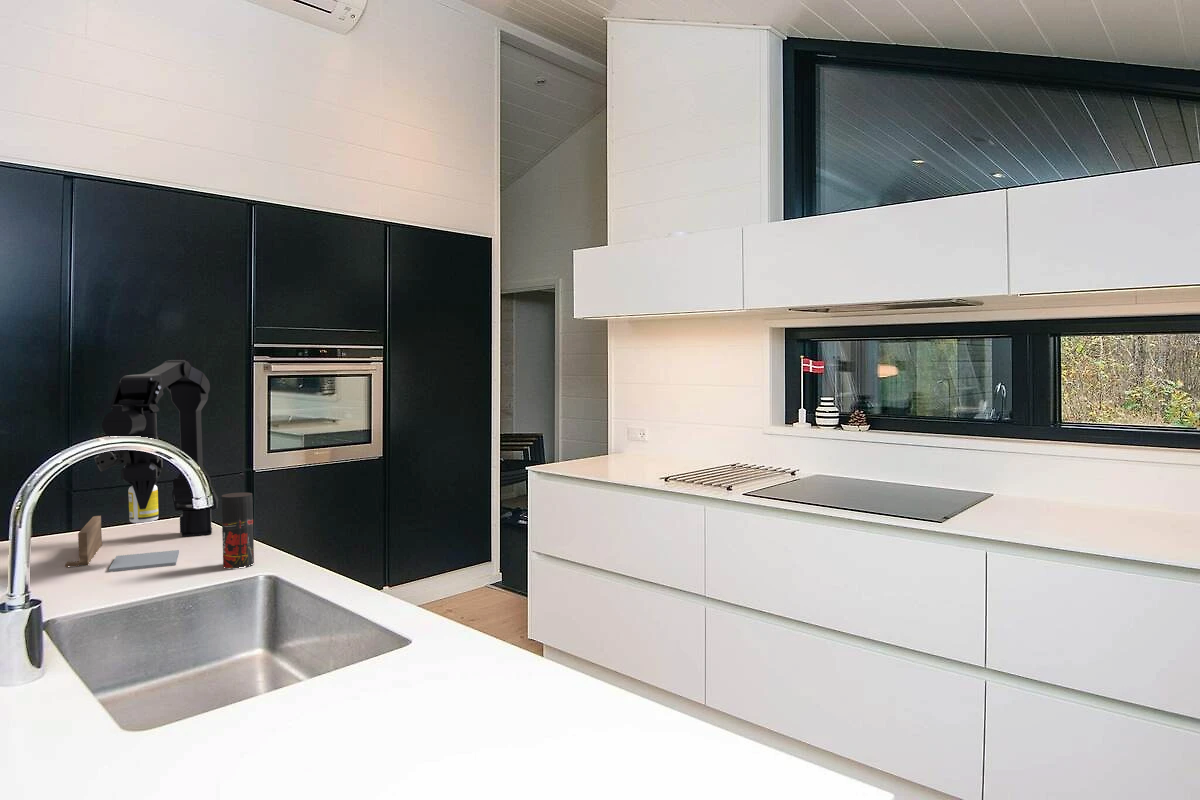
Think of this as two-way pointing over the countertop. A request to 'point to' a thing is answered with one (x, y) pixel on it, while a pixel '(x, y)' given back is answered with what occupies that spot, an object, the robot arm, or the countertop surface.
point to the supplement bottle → (143, 514)
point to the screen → (88, 542)
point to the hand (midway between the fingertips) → (144, 506)
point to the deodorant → (237, 529)
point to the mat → (144, 560)
